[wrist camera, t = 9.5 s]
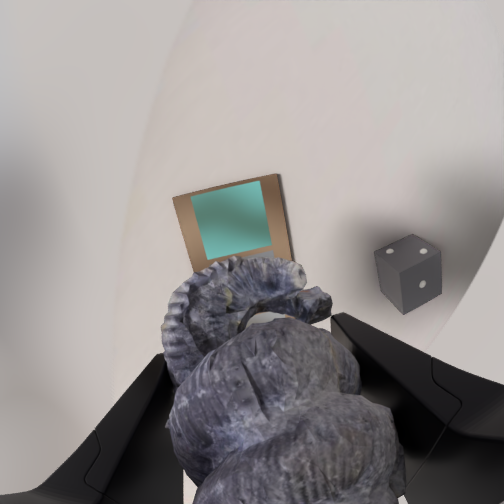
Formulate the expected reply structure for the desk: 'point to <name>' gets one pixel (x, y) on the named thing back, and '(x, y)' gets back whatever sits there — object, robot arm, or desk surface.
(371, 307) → the desk surface
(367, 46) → the desk surface
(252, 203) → the board
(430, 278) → the die
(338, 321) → the robot arm
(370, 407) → the seashell
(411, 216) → the desk surface
